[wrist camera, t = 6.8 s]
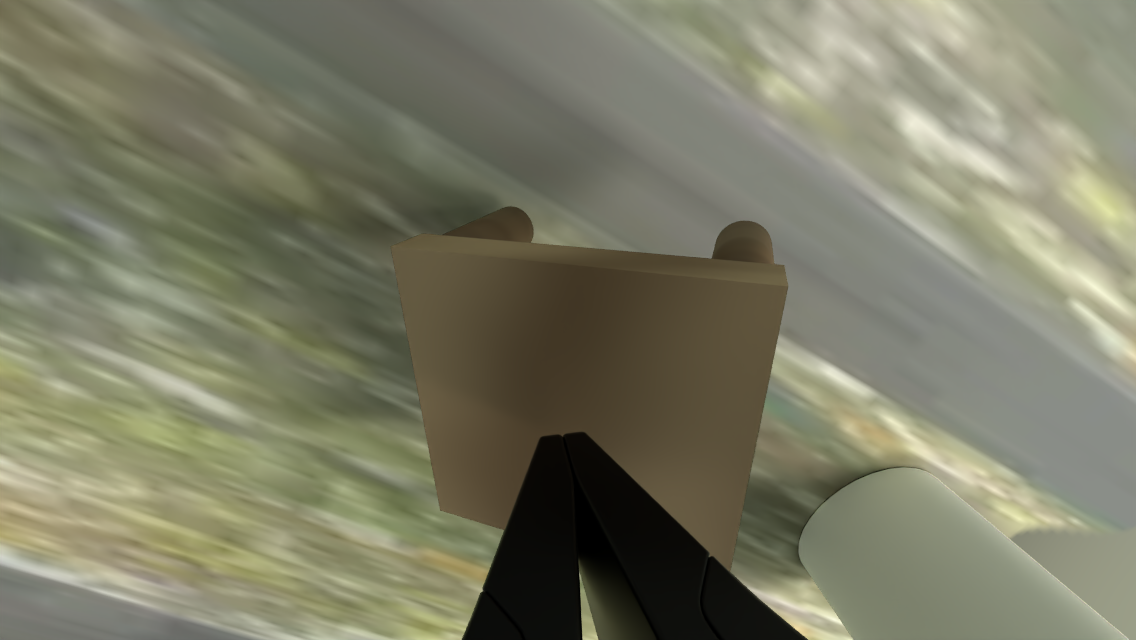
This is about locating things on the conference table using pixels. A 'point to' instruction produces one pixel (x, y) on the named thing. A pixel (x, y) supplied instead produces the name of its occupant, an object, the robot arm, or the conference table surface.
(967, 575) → the cylindrical container
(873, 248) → the conference table surface
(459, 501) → the stool
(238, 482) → the conference table surface
